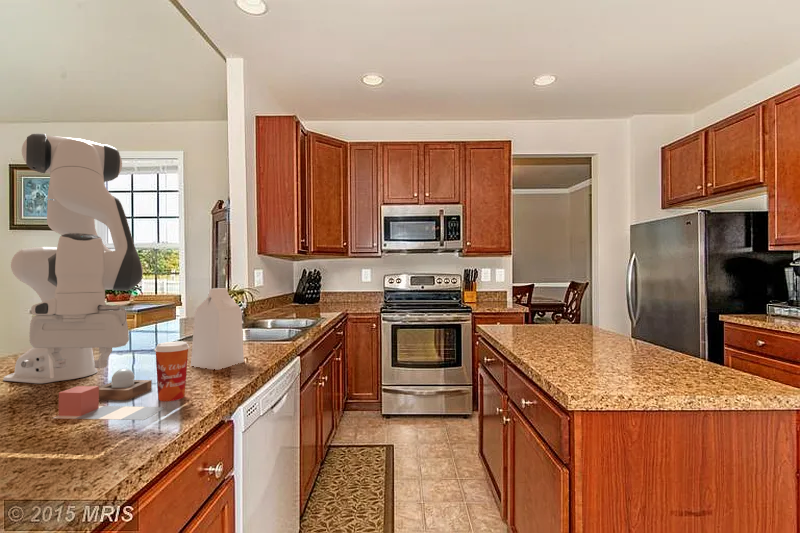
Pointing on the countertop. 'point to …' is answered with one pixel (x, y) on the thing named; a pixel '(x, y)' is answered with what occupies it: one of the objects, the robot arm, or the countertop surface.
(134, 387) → the button box
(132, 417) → the track
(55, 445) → the countertop surface
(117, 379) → the dome
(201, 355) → the milk
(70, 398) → the red block
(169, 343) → the paper cup
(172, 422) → the countertop surface
